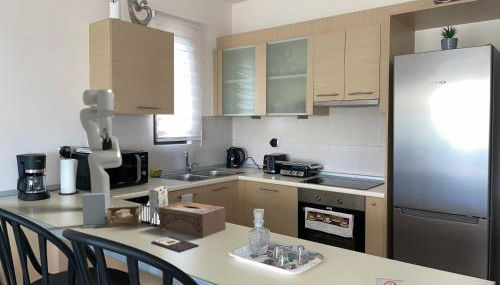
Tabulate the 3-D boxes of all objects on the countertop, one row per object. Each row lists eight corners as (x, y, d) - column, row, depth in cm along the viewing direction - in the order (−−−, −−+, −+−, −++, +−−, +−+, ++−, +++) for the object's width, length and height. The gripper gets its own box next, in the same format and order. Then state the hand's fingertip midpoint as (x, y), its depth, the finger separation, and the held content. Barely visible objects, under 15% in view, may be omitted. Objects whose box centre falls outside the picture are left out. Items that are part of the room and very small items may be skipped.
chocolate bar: (179, 251, 150) (151, 241, 162) (179, 253, 150) (151, 244, 162) (198, 244, 157) (169, 236, 169) (198, 247, 157) (170, 238, 169)
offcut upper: (115, 217, 190) (115, 212, 190) (123, 214, 196) (122, 209, 196) (122, 217, 189) (122, 212, 189) (129, 214, 195) (129, 209, 195)
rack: (109, 220, 201) (108, 207, 201) (139, 217, 204) (139, 205, 204) (105, 227, 187) (104, 214, 187) (137, 225, 190) (137, 212, 190)
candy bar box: (159, 219, 200) (158, 186, 198) (169, 219, 199) (168, 186, 197) (149, 225, 189) (148, 190, 188) (159, 226, 188) (158, 190, 187)
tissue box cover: (159, 229, 183) (159, 207, 182) (183, 222, 194) (182, 201, 194) (203, 238, 168) (202, 214, 167) (225, 230, 179) (224, 207, 179)
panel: (84, 223, 194) (83, 194, 193) (107, 221, 196) (105, 192, 195) (83, 225, 190) (81, 195, 189) (106, 223, 192) (104, 194, 191)
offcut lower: (112, 224, 193) (111, 216, 192) (131, 222, 197) (131, 213, 197) (113, 226, 189) (113, 218, 189) (133, 224, 193) (133, 215, 193)
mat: (85, 222, 197) (85, 221, 197) (108, 220, 199) (108, 220, 199) (81, 228, 187) (81, 227, 187) (105, 226, 189) (105, 225, 189)
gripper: (100, 114, 209) (101, 148, 210) (94, 114, 192) (96, 151, 193) (115, 114, 210) (117, 147, 211) (111, 114, 193) (113, 150, 194)
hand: (107, 149), depth 202 cm, fingers open, 9 cm apart
